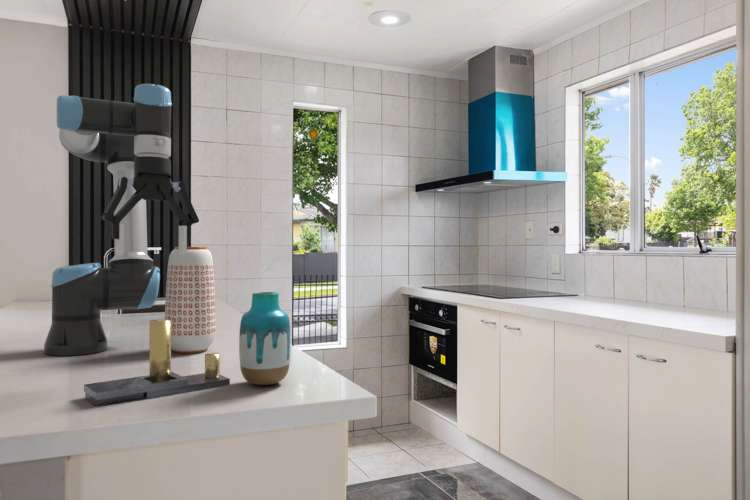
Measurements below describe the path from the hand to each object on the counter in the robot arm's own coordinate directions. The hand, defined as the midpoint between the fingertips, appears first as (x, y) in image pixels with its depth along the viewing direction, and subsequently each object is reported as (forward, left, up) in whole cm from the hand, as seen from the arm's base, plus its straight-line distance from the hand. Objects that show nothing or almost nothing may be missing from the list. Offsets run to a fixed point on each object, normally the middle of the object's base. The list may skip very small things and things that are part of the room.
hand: (152, 255), depth 127 cm
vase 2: (+21, +16, -27) cm, 38 cm away
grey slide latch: (+13, -3, -27) cm, 30 cm away
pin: (+13, -3, -27) cm, 30 cm away
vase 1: (-24, +19, -27) cm, 41 cm away
